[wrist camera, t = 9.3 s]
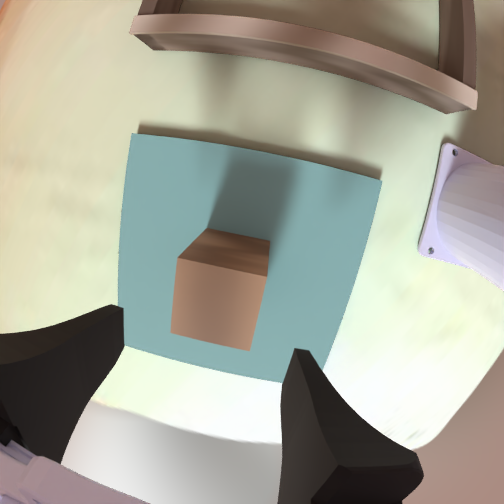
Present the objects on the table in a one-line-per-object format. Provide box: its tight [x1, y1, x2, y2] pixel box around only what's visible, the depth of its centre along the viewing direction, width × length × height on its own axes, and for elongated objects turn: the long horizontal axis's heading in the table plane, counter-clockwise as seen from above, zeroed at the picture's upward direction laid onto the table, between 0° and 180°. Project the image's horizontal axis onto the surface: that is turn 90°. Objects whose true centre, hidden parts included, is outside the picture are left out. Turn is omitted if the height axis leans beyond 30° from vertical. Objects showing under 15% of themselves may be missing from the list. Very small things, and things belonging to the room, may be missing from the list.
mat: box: [118, 133, 382, 383], centre depth 20 cm, size 16×16×1 cm
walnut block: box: [170, 228, 270, 351], centre depth 17 cm, size 4×4×6 cm
